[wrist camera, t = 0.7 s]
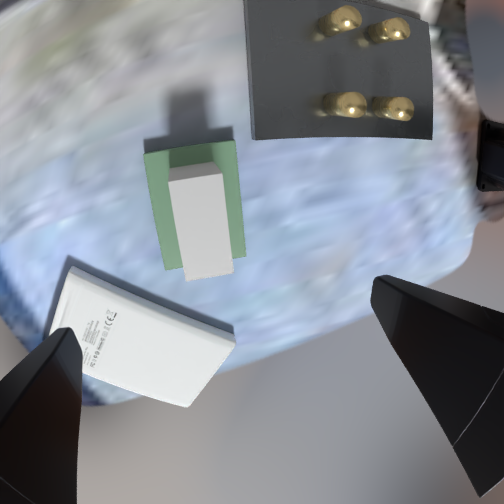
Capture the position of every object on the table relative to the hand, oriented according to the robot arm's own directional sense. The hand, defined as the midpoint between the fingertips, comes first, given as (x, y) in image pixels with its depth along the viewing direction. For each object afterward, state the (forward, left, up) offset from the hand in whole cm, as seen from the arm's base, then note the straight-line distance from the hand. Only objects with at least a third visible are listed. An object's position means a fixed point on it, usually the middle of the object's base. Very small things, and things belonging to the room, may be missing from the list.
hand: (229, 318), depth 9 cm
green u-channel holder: (0, 0, -11) cm, 11 cm away
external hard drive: (+6, +10, -12) cm, 16 cm away
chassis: (-10, -8, -11) cm, 17 cm away
